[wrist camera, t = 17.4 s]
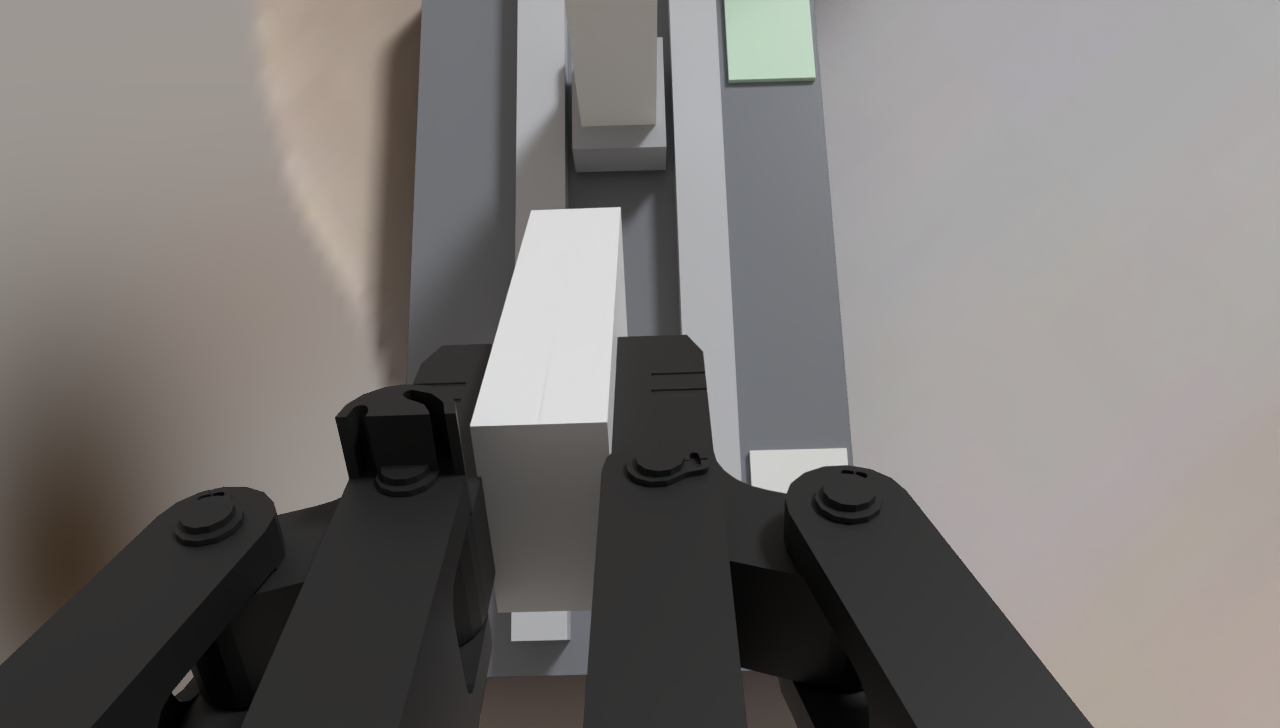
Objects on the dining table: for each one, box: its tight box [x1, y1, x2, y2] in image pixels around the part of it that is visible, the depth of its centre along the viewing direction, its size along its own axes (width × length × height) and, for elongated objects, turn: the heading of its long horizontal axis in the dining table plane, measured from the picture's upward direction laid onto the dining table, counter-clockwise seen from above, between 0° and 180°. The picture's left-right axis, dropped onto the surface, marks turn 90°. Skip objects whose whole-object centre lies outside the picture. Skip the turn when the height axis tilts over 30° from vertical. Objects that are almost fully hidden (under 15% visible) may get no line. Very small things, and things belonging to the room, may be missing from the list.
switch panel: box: [406, 0, 853, 677], centre depth 33 cm, size 26×14×4 cm, turn 2°
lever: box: [564, 0, 666, 172], centre depth 27 cm, size 4×4×12 cm
